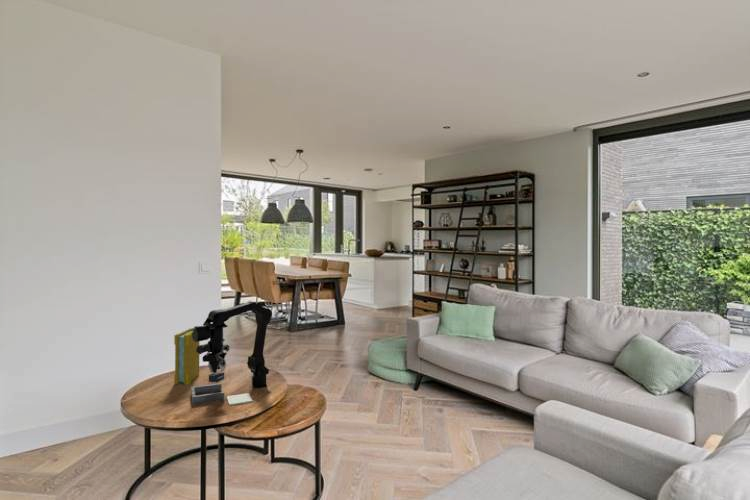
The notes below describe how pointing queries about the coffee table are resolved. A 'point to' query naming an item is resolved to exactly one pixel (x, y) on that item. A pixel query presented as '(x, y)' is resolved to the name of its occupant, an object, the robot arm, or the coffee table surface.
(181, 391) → the coffee table surface
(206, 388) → the grey u-shaped piece
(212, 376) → the watch
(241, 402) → the pad
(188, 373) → the book
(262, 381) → the robot arm
